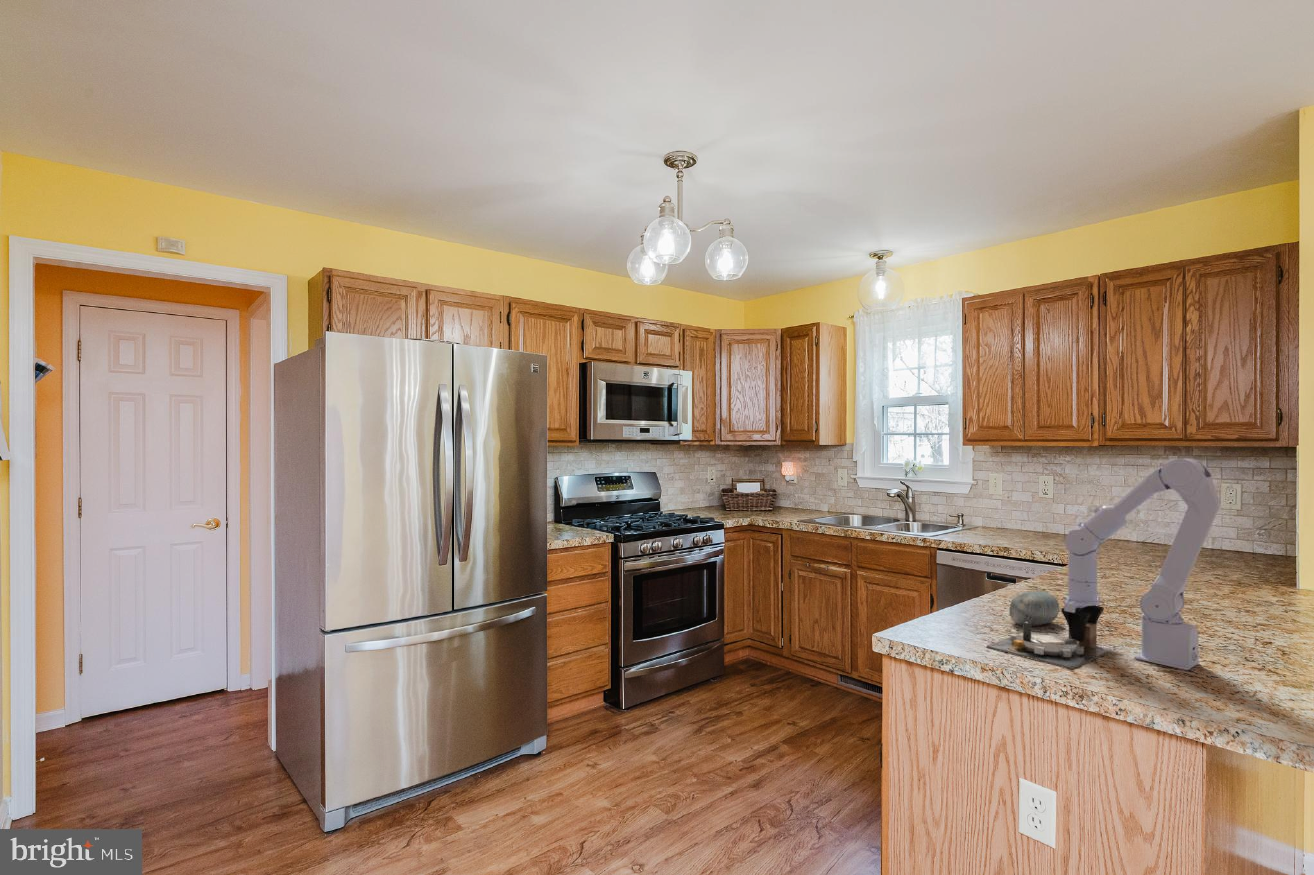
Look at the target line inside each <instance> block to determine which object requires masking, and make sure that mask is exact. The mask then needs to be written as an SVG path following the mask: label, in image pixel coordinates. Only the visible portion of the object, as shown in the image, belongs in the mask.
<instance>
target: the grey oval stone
mask: <svg viewBox="0 0 1314 875" xmlns="http://www.w3.org/2000/svg"><path fill="white" fill-rule="evenodd" d="M1059 613H1060V603H1059V601H1058V599H1057V598H1056V597H1055V595H1053V594H1051V593H1049V592H1045V591H1038V590H1037V591H1036V590H1031V591H1024V592H1021V593H1018V594H1016V595H1015V596H1014V597H1013V598H1011V601H1010V604H1009V616H1010V618H1011V620H1012V622H1014V623H1015V624H1017V625H1019V626H1022V627H1023V622H1030V623H1031V627H1034V626H1035V627H1036V626H1042V625H1046V624H1049V623H1051V622H1053V621H1055V620H1056V619H1057V618H1058V616H1059Z"/></svg>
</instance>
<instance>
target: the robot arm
mask: <svg viewBox="0 0 1314 875" xmlns="http://www.w3.org/2000/svg"><path fill="white" fill-rule="evenodd" d="M1213 480H1214V479H1213V474H1212V472H1210V470H1209V469H1208V468H1207V467H1206V466H1205V465H1204V463H1202V462H1201V461H1199V460H1197V459H1196V458H1189V457H1185V458H1173V459H1171V460H1168V461H1167V462H1166V463H1164V464H1163V466H1162V467H1158V468H1156V469H1155V470H1154V471H1152V472H1150V473H1149V474H1148V475H1147V476H1145V477H1144V478H1143V479H1142V480H1141V481H1140V482H1138V484H1136V485H1135V486H1134V487H1133V488H1132V489H1131V490H1129V491H1128V492H1127V493H1126V494H1125V495H1124V496H1122V497H1121V499H1119V500H1118V501H1117V502H1116V503H1115V504H1114V505H1106V504H1105V505H1102V506H1101V507H1100V506H1098V507H1095V508H1094V509H1093V512H1094V513H1093V514H1092V515H1091V516H1090V517H1088V518H1087V519H1085V521H1081V522H1079V523H1077V526H1078V528H1074V529H1071V530H1069V531H1068V533H1067V534H1066V536H1065V538H1064V544H1065V547H1066V549H1067V550H1068V559H1067V567H1068V568H1067V586H1068V588H1067V595H1063V596H1062V600H1065V601H1066V602H1063V603H1064V604H1063V605H1064V607H1061V613H1062V616H1064V618H1065V621H1066V623H1067V626H1068V631H1069V630H1070V634H1071V637H1072V639H1075V640H1077V641H1081V642H1082V641H1083V640H1084V636H1085V628H1086V624H1087V623H1092V624H1098V621H1099V618H1100V616H1101V615H1102V613H1103V612H1104V607H1103V606H1101V605H1100V606H1099V604H1101V596H1100V595H1098V561H1097V554H1098V553H1097V552H1098V550H1099V548H1100V547H1101V544H1102V543H1104V542H1106V541H1107V540H1108V539H1109V538H1111V537H1112V536H1113V535H1114V534H1116V533H1118V531H1119V530H1121V529H1122V528H1123V527H1125V526H1126V525H1127V516H1128V515H1129V514H1130V513H1131V512H1133V511H1134V510H1136V509H1137V508H1138V507H1140V506H1141V505H1142V504H1144V503H1145V502H1146V501H1147V500H1149V499H1150V498H1152V497H1153V496H1155V495H1156V494H1157V493H1160V492H1164V491H1168V490H1174V491H1175V492H1176V493H1178V495H1179V496H1180V497H1181V499H1182V500H1183V502H1184V503H1185V505H1186V506H1187V509H1186V511H1185V513H1184V515H1183V518H1182V520H1181V523H1180V525H1179V527H1178V529H1177V532H1176V534H1175V536H1174V538H1173V541H1172V544H1171V546H1170V548H1169V551H1168V553H1167V555H1166V557H1165V560H1164V562H1163V564H1162V567H1161V569H1160V572H1159V574H1158V575H1157V577H1156V578H1155V580H1154V582H1153V583H1152V585H1151V588H1150V589H1149V590H1148V591H1147V592H1145V593H1144V594H1142V595H1141V597H1140V599H1139V608H1140V611H1141V612H1142V613H1141V652H1140V653H1138V654H1135V655H1134V659H1136V660H1140V661H1144V662H1149V663H1153V664H1156V665H1157V664H1158V665H1162V666H1167V667H1171V668H1175V669H1180V670H1183V671H1184V670H1185V671H1189V670H1190V669H1192V668H1194V667H1196V666H1197V665H1199V664H1200V661H1199V630H1198V628H1197V626H1196V625H1194V624H1190V623H1189V624H1188V623H1186V622H1184V617H1182V615H1181V613H1180V612H1181V611H1182V610H1184V607H1185V604H1186V603H1185V602H1186V601H1185V596H1184V595H1185V594H1184V593H1185V590H1186V588H1187V583H1188V582H1187V581H1188V579H1189V577H1190V575H1191V573H1192V570H1193V568H1194V566H1195V564H1196V562H1197V559H1198V557H1199V555H1200V552H1201V550H1202V548H1203V545H1204V543H1205V541H1206V539H1207V537H1208V534H1209V532H1210V530H1211V527H1212V525H1213V523H1214V520H1215V518H1216V516H1217V513H1218V511H1219V509H1220V507H1221V502H1220V499H1219V495H1218V492H1217V490H1216V487H1215V484H1214V481H1213Z"/></svg>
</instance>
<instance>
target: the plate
mask: <svg viewBox="0 0 1314 875" xmlns="http://www.w3.org/2000/svg"><path fill="white" fill-rule="evenodd" d="M1080 646H1082V645H1080ZM986 648H988V649H991V650H994V651H999V650H1001V651H1000V652H1003V651H1004V653H1006V652H1009V653H1008V654H1010V653H1012V654H1011V655H1014V654H1017V655H1016V656H1018V655H1020V656H1019V657H1022V656H1024V657H1023V658H1026V657H1029V658H1028V659H1030V658H1032V659H1031V660H1034V659H1037V660H1036V661H1038V660H1039V661H1038V662H1042V661H1044V662H1043V663H1045V662H1047V663H1046V664H1049V663H1052V664H1051V665H1053V664H1055V666H1057V665H1059V666H1058V667H1061V666H1063V667H1062V668H1065V667H1066V669H1069V668H1070V669H1069V670H1075V669H1076V668H1078V667H1081V666H1083V665H1085V664H1087V663H1089V661H1090V662H1091V661H1094V660H1096V659H1098V658H1100V657H1102V656H1104V655H1107V654H1108V653H1109V652H1108V650H1105V649H1104V650H1103V649H1099V648H1095V647H1092V648H1091V647H1086V646H1084V653H1083V654H1077V653H1076V654H1074V655H1071V657H1062V656H1056V655H1046V654H1044V655H1040V654H1035V653H1034V652H1032V651H1028V650H1025V649H1023V648H1017V647H1015V646H1014V642H1012V641H1011V636H1010V637H1008V638H1004V639H1001V640H999V641H996V642H994V643H990V644H988V645H986Z"/></svg>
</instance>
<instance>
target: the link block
mask: <svg viewBox="0 0 1314 875" xmlns="http://www.w3.org/2000/svg"><path fill="white" fill-rule="evenodd" d="M1097 624H1098V623H1097ZM1097 624H1092V623H1087V624H1086V628H1085V636H1084V640H1083V641H1082V642H1081V641H1079V645H1082V646H1086V647H1091V648H1095V647H1096V645H1097V639H1098V638H1097V632H1098V631H1097ZM1068 638H1069V639H1072V637H1071V634H1070V630H1069V629H1068Z"/></svg>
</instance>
